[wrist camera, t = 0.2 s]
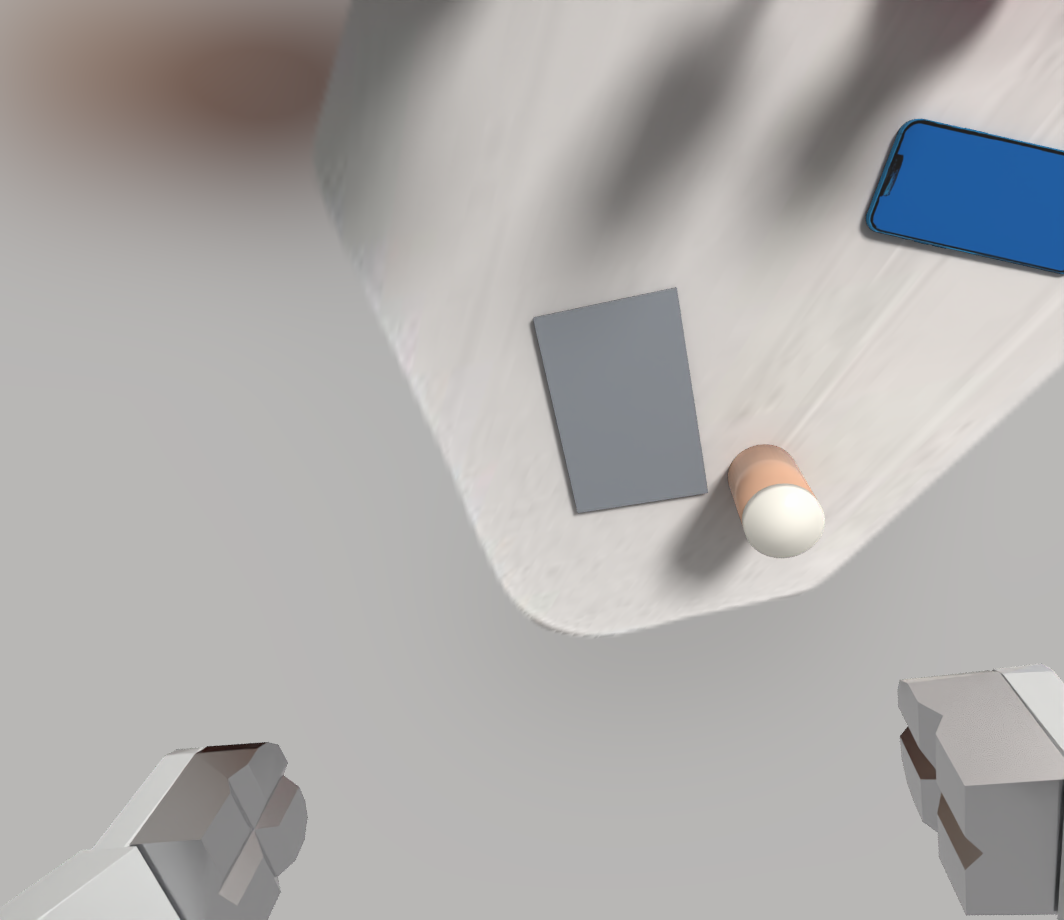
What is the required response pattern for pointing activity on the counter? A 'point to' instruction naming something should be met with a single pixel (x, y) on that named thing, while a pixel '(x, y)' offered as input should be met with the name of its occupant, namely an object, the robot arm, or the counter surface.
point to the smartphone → (973, 194)
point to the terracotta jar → (774, 502)
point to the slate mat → (623, 400)
